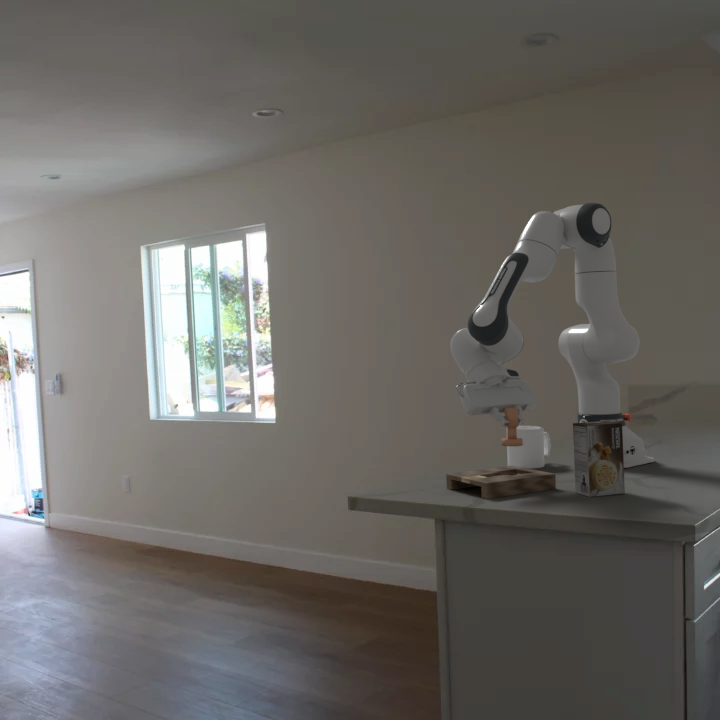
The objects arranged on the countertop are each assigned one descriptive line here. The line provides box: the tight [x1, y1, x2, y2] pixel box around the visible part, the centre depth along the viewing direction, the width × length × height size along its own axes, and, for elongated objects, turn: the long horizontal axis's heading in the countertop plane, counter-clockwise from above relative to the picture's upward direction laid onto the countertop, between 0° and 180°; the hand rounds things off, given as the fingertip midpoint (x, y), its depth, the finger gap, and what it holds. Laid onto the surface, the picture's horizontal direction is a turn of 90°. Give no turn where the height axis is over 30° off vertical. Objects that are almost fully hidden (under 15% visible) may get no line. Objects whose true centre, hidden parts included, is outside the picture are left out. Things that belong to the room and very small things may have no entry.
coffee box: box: [572, 421, 626, 498], centre depth 181 cm, size 9×6×16 cm
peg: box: [501, 407, 523, 447], centre depth 192 cm, size 5×5×9 cm
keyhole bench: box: [445, 465, 557, 500], centre depth 191 cm, size 20×16×4 cm
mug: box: [506, 425, 551, 469], centre depth 224 cm, size 14×10×11 cm
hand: (513, 423), depth 192 cm, fingers closed on peg, 3 cm apart
